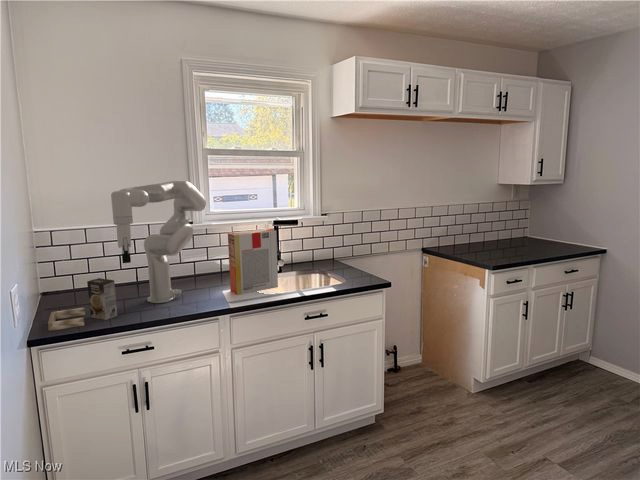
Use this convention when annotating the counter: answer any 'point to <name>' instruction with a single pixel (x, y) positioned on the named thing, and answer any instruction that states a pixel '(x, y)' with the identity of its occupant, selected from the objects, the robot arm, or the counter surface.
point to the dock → (66, 323)
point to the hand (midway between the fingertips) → (126, 262)
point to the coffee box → (102, 298)
